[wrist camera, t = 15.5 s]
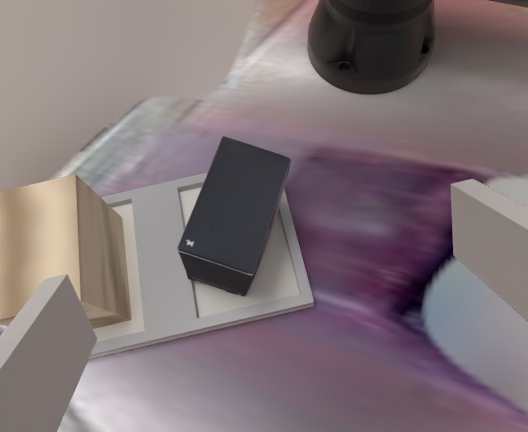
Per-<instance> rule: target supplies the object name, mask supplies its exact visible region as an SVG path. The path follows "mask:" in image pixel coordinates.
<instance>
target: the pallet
mask: <svg viewBox="0 0 528 432" xmlns="http://www.w3.org/2000/svg"><path fill="white" fill-rule="evenodd" d="M207 173H208V172H207ZM207 173H203V174H198V175H194V176H190V177H186V178H181V179H177V180H173V181H168V182H164V183H160V184H156V185H151V186H147V187H143V188H139V189H134V190H130V191H126V192H121V193H117V194H113V195H109V196H104V197H101V198H102V199H103V200H104V201H105V202H106V203H107V204H108V205H109V206H110V207H111V208H112V209H114V210H115V211H116V212H117V213H118V214H119V215H120V216H121V217H122V218H123V228H124V239H125V250H126V262H127V273H128V284H129V295H130V307H131V318H132V320H129V321H125V322H121V323H117V324H112V325H108V326H104V327H99V328H95V329H93V330H94V333H95V335H96V337H97V341H96V343H95V346H94V348H93V350H92V352H91V355H90V357H89V359H93V358H97V357H101V356H106V355H110V354H114V353H118V352H123V351H127V350H131V349H135V348H140V347H144V346H148V345H152V344H157V343H161V342H165V341H170V340H174V339H178V338H182V337H187V336H191V335H195V334H199V333H204V332H208V331H212V330H216V329H221V328H225V327H229V326H233V325H238V324H242V323H246V322H250V321H255V320H259V319H263V318H267V317H272V316H276V315H280V314H285V313H289V312H293V311H297V310H302V309H306V308H310V307H313V306H314V300H313V296H312V292H311V289H310V285H309V281H308V277H307V273H306V270H305V266H304V262H303V258H302V254H301V251H300V247H299V243H298V239H297V235H296V232H295V228H294V224H293V220H292V217H291V213H290V209H289V205H288V201H287V198H286V194H285V190H284V191H283V195H282V198H281V202H280V205H279V208H278V212H277V215H276V218H275V222H274V225H273V228H272V231H271V234H270V237H269V240H268V242H267V245H266V248H265V251H264V253H263V256H262V259H261V262H260V264H259V267H258V269H257V272H256V274H255V277H254V279H253V281H252V284H251V286H250V288H249V290H248V292H247V294H246V296H241V295H237V294H233V293H229V292H227V291H225V290H222V289H218V288H216V287H214V286H210V285H207V284H204V283H200V282H199V281H193V280H191V279H188V277H187V274H186V270H185V268H184V265H183V263H182V260H181V258H180V255H179V253H178V250H177V247H178V244H179V242H180V240H181V237H182V235H183V232H184V230H185V227H186V225H187V222H188V220H189V217H190V215H191V212H192V210H193V208H194V205H195V203H196V200H197V198H198V195H199V193H200V190H201V188H202V185H203V183H204V180H205V178H206V176H207ZM89 359H88V360H89Z"/></svg>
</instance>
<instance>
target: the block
mask: <svg viewBox="0 0 528 432" xmlns="http://www.w3.org/2000/svg"><path fill="white" fill-rule="evenodd" d="M64 274H68V276H69V278H70V281H71V283H72V285H73V287H74V289H75V291H76V294H77V296H78V298H79V300H80V302H81V304H82V307H83V309H84V311H85V313H86V315H87V317H88V320H89V322H90V324H91V326H92V328H93V329H95V328H99V327H104V326H108V325H112V324H117V323H121V322H125V321H129V320H132V318H131V307H130V295H129V284H128V273H127V262H126V250H125V239H124V228H123V218H122V217H121V216H120V215H119V214H118V213H117V212H116V211H115V210H114V209H112V208H111V207H110V206H109V205H108V204H107V203H106V202H105V201H104V200H103V199H102V198H101V197H99V196H98V195H97V194H96V193H95V192H94V191H93V190H92V189H91V188H90V187H89V186H88V185H86V184H85V183H84V182H83V181H82V180H81V179H80V178H79V177H78V176H77V175H76V174H75V175H70V176H66V177H62V178H58V179H53V180H49V181H45V182H41V183H37V184H32V185H28V186H23V187H19V188H15V189H11V190H6V191H2V192H0V324H1V325H6V326H8V325H9V324H10V323H11V322H12V320H13V319H14V318H15V317H16V315H17V314H18V313H19V311H20V310H21V309H22V308H23V306H24V305H25V304H26V303H27V301H28V300H29V299H30V297H31V296H32V295H33V294H34V292H35V291H36V290H37V288H38V287H39V286H40V285H41V283H42V282H43V281H44V280H45V279H47V278H51V277H56V276H60V275H64Z"/></svg>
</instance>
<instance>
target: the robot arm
mask: <svg viewBox="0 0 528 432" xmlns="http://www.w3.org/2000/svg"><path fill="white" fill-rule="evenodd" d="M489 1H495V2H500V3H505V4H511V5H516V6H522V7H527V8H528V0H489ZM434 41H435V14H434V0H319V3H318V5H317V7H316V10H315V12H314V15H313V17H312V19H311V22H310V25H309V30H308V54H309V58H310V60H311V63H312V65H313V66H314V68H315V69H316V71H317V72H318V73H319V74H320V75H321V76H322V77H323V78H324V79H325V80H327V81H328V82H330V83H331V84H333V85H335V86H337V87H339V88H342V89H344V90H347V91H351V92H356V93H364V94H375V93H384V92H388V91H392V90H395V89H398V88H400V87H402V86H404V85H406V84H408V83H410V82H411V81H412V80H414V79H415V78H416V77H417V76H418V75H419V74H420V73H421V72H422V71H423V69H424V68H425V66H426V64H427V62H428V60H429V57H430V54H431V52H432V49H433V46H434ZM451 207H452V231H453V255H454V256H455V257H456V258H457V259H458V260H459V261H460V262H461V263H463V264H464V265H465V266H466V267H467V268H468V269H469V270H470V271H472V272H473V273H474V274H475V275H476V276H477V277H478V278H479V279H481V280H482V281H483V282H484V283H485V284H486V285H487V286H488V287H489V288H491V289H492V290H493V291H494V292H495V293H496V294H497V295H499V297H501V298H502V299H503V300H504V301H505V302H506V303H507V304H508V305H510V306H511V307H512V308H513V309H514V310H515V311H516V312H517V313H518V314H520V315H521V316H522V317H523V318H524V319H525V320H526V321H527V322H528V207H527V206H525V205H523V204H521V203H519V202H517V201H515V200H513V199H511V198H509V197H507V196H505V195H503V194H501V193H499V192H497V191H495V190H494V189H492V188H490V187H488V186H486V185H484V184H482V183H480V182H478V181H476V180H474V179H470V180H465V181H461V182H457V183H453V184H451ZM96 341H97V337H96V335H95V333H94V330H93V328H92V326H91V324H90V322H89V320H88V317H87V315H86V313H85V311H84V309H83V307H82V304H81V302H80V300H79V298H78V296H77V294H76V291H75V289H74V287H73V285H72V283H71V281H70V278H69V276H68V274H64V275H60V276H56V277H51V278H47V279H45V280H44V281H43V282H42V283H41V285H40V286H39V287H38V288H37V290H36V291H35V292H34V294H33V295H32V296H31V297H30V299H29V300H28V301H27V303H26V304H25V305H24V306H23V308H22V309H21V310H20V311H19V313H18V314H17V315H16V317H15V318H14V319H13V320H12V322H11V323H10V324H9V325H8V327H7V328H6V329H5V331H4V332H3V333H2V334H1V336H0V432H57V430H58V427H59V425H60V423H61V421H62V418H63V416H64V414H65V412H66V409H67V407H68V405H69V402H70V400H71V398H72V396H73V393H74V391H75V389H76V386H77V384H78V382H79V380H80V377H81V375H82V373H83V371H84V368H85V366H86V364H87V361H88V359H89V357H90V355H91V352H92V350H93V348H94V346H95V343H96Z"/></svg>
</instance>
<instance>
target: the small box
mask: <svg viewBox="0 0 528 432" xmlns="http://www.w3.org/2000/svg"><path fill="white" fill-rule="evenodd" d="M290 163H291V159H290V158H288V157H285V156H282V155H280V154H277V153H274V152H270V151H268V150H264V149H262V148H259V147H255V146H252V145H249V144H246V143H243V142H240V141H237V140H234V139H231V138H227V137H224V136H223V137H222V139H221V141H220V144H219V146H218V149H217V151H216V154H215V156H214V158H213V161H212V163H211V166H210V168H209V171H208V173H207V176H206V178H205V180H204V183H203V185H202V188H201V190H200V193H199V195H198V198H197V200H196V203H195V205H194V208H193V210H192V212H191V215H190V217H189V220H188V222H187V225H186V227H185V230H184V232H183V235H182V237H181V240H180V242H179V244H178V247H177V250H178V253H179V255H180V258H181V260H182V263H183V265H184V268H185V270H186V274H187V277H188V279H191V280H193V281H199V282H200V283H204V284H207V285H210V286H214V287H216V288H218V289H222V290H225V291H227V292H229V293H233V294H237V295H241V296H246V294H247V292H248V290H249V288H250V286H251V284H252V281H253V279H254V277H255V274H256V272H257V269H258V267H259V264H260V262H261V259H262V256H263V253H264V251H265V248H266V245H267V242H268V240H269V237H270V234H271V231H272V228H273V225H274V222H275V218H276V215H277V212H278V208H279V205H280V202H281V198H282V195H283V191H284V187H285V184H286V180H287V176H288V172H289V167H290Z"/></svg>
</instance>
